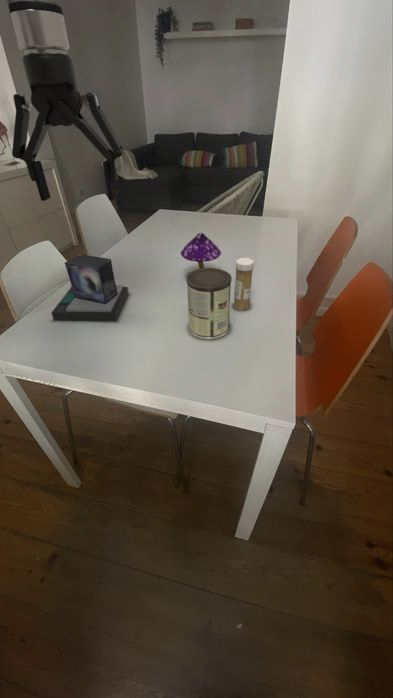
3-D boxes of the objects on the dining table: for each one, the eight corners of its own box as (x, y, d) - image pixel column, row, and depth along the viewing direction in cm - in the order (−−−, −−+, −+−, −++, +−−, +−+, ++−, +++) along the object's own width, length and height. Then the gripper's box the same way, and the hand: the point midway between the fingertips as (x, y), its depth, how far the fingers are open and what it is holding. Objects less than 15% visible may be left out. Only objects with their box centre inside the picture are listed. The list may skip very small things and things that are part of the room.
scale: (53, 320, 85) (50, 310, 83) (73, 293, 97) (70, 283, 95) (116, 321, 84) (114, 310, 82) (128, 294, 96) (127, 284, 94)
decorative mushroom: (186, 270, 109) (185, 225, 100) (222, 272, 107) (224, 227, 98) (177, 286, 99) (174, 238, 90) (217, 289, 97) (218, 241, 88)
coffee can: (198, 314, 86) (197, 264, 78) (234, 322, 83) (237, 271, 74) (181, 334, 79) (178, 282, 70) (219, 344, 76) (221, 290, 67)
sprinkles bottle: (250, 310, 87) (255, 263, 79) (234, 311, 87) (237, 264, 79) (247, 302, 91) (252, 256, 83) (232, 302, 91) (234, 257, 83)
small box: (73, 298, 88) (62, 262, 81) (87, 288, 92) (78, 253, 86) (105, 305, 84) (97, 268, 78) (118, 294, 89) (111, 258, 83)
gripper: (129, 54, 53) (144, 194, 66) (-16, 59, 54) (27, 194, 67) (118, 49, 47) (137, 203, 60) (-45, 53, 48) (9, 204, 61)
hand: (79, 199), depth 63 cm, fingers open, 13 cm apart
